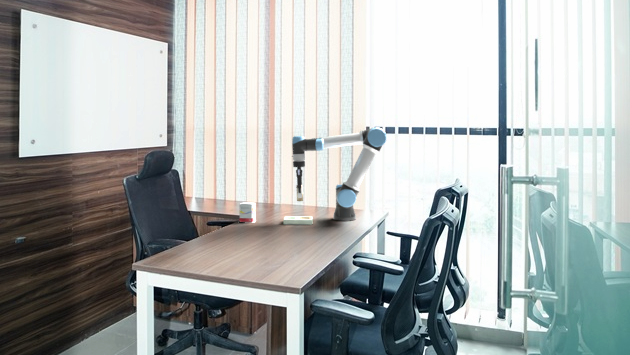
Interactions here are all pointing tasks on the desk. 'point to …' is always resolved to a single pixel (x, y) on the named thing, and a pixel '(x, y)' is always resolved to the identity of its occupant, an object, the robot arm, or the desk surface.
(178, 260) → the desk surface
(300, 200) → the peg
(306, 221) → the socket board
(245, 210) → the ink box
